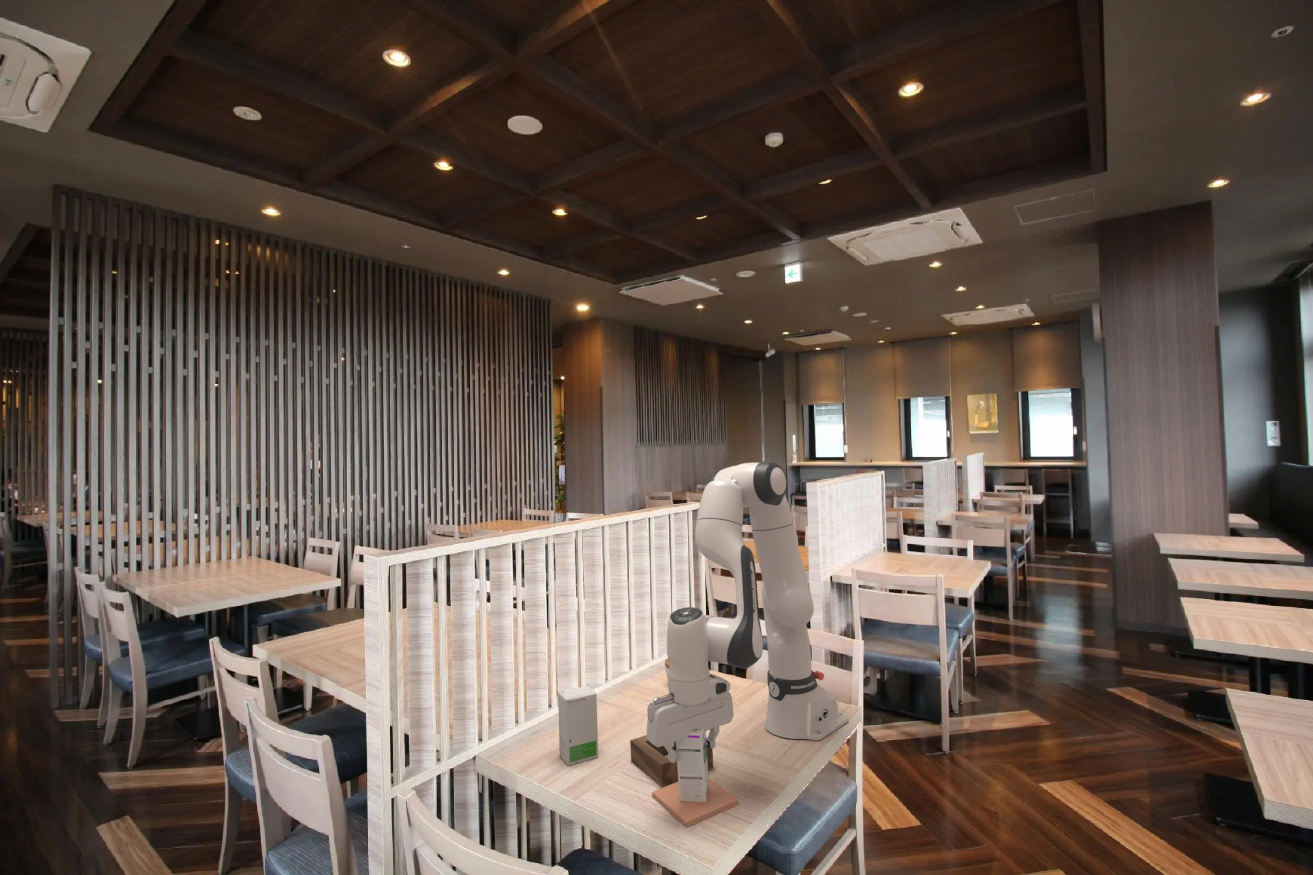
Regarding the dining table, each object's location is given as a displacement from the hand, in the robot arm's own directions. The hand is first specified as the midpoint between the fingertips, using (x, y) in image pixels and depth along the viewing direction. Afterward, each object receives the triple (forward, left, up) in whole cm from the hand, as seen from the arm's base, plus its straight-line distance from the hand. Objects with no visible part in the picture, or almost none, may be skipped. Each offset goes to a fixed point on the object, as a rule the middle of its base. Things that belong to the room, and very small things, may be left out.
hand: (692, 754), depth 127 cm
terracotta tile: (0, 0, -10) cm, 10 cm away
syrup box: (0, 0, -9) cm, 9 cm away
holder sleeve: (-4, -15, -10) cm, 18 cm away
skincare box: (+12, -32, -10) cm, 36 cm away
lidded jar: (-33, -53, -10) cm, 63 cm away
